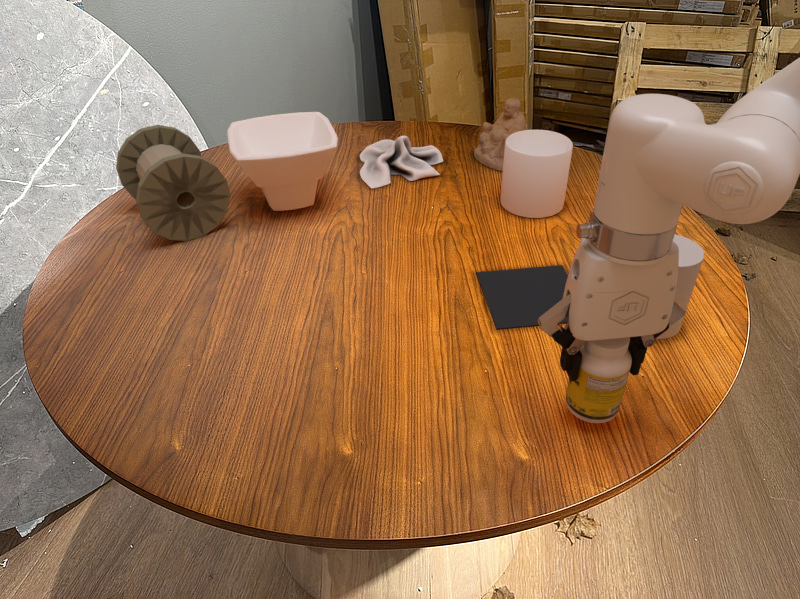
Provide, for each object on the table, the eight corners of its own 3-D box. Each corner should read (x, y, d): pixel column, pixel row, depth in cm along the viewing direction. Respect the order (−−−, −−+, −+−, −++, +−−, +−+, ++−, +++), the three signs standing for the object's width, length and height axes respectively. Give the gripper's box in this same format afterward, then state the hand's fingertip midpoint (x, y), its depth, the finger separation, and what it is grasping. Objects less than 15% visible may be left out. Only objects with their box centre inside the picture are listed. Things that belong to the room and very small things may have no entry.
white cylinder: (522, 182, 122) (528, 124, 115) (575, 200, 116) (585, 139, 109) (488, 205, 115) (492, 144, 108) (542, 225, 109) (550, 162, 102)
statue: (556, 110, 124) (520, 104, 119) (533, 176, 131) (498, 174, 125) (518, 93, 133) (483, 87, 127) (498, 156, 139) (464, 153, 134)
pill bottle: (565, 383, 76) (578, 312, 69) (618, 391, 74) (636, 320, 68) (562, 420, 71) (576, 348, 64) (618, 430, 70) (638, 358, 63)
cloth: (367, 142, 140) (365, 115, 136) (448, 146, 137) (449, 119, 133) (342, 187, 123) (340, 158, 119) (435, 193, 120) (435, 163, 116)
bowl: (330, 174, 127) (323, 108, 119) (349, 219, 112) (343, 147, 104) (238, 187, 123) (224, 120, 115) (246, 236, 109) (231, 162, 100)
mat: (562, 265, 99) (562, 264, 99) (593, 320, 88) (593, 319, 88) (476, 273, 98) (476, 272, 98) (496, 329, 87) (496, 328, 87)
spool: (130, 211, 117) (105, 136, 108) (207, 190, 123) (190, 117, 114) (152, 251, 105) (127, 170, 96) (236, 225, 112) (219, 147, 102)
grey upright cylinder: (693, 324, 87) (717, 252, 79) (655, 346, 83) (677, 274, 76) (645, 296, 92) (664, 226, 85) (608, 316, 89) (624, 245, 81)
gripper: (554, 261, 55) (533, 401, 66) (740, 244, 56) (689, 385, 67) (530, 219, 61) (515, 354, 72) (699, 205, 62) (659, 340, 73)
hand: (599, 368), depth 69 cm, fingers closed on pill bottle, 6 cm apart
